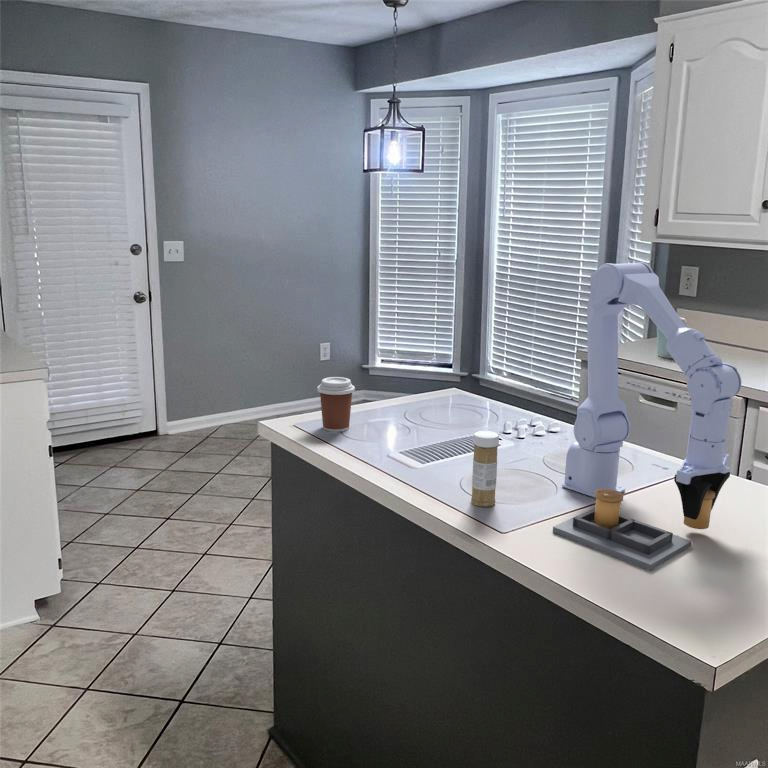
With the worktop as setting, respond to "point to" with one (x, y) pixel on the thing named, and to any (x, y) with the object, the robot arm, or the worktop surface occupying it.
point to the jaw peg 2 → (702, 513)
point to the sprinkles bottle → (484, 468)
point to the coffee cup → (336, 403)
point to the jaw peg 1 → (607, 507)
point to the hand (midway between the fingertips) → (697, 513)
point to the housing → (625, 539)
